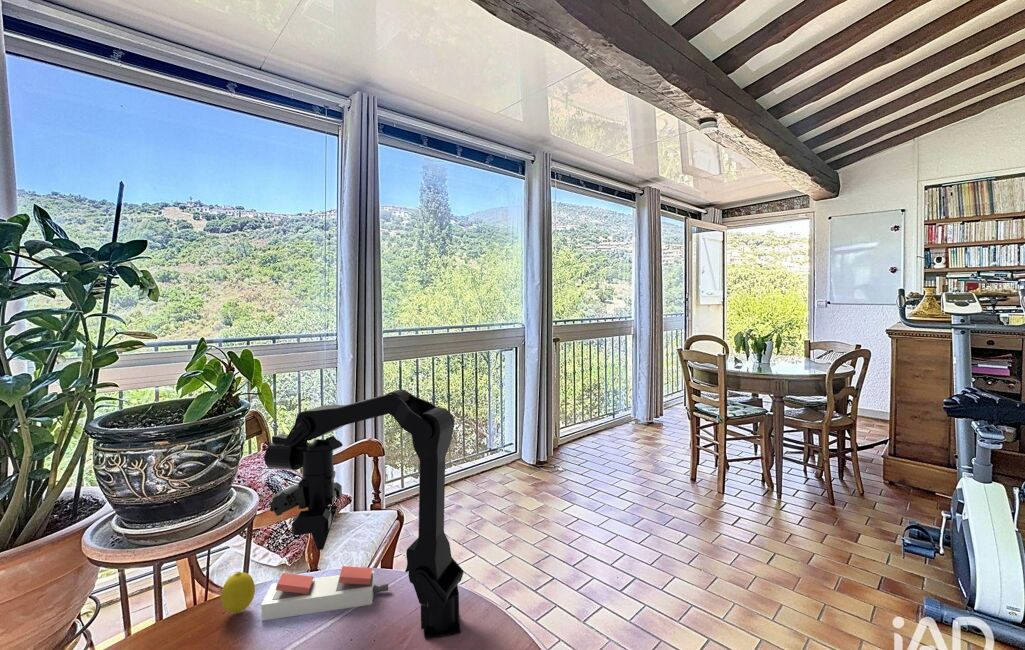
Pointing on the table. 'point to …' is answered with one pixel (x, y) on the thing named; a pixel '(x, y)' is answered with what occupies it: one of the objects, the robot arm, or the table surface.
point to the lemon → (238, 592)
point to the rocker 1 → (294, 583)
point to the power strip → (318, 598)
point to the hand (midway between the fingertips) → (320, 548)
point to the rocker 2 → (355, 575)
